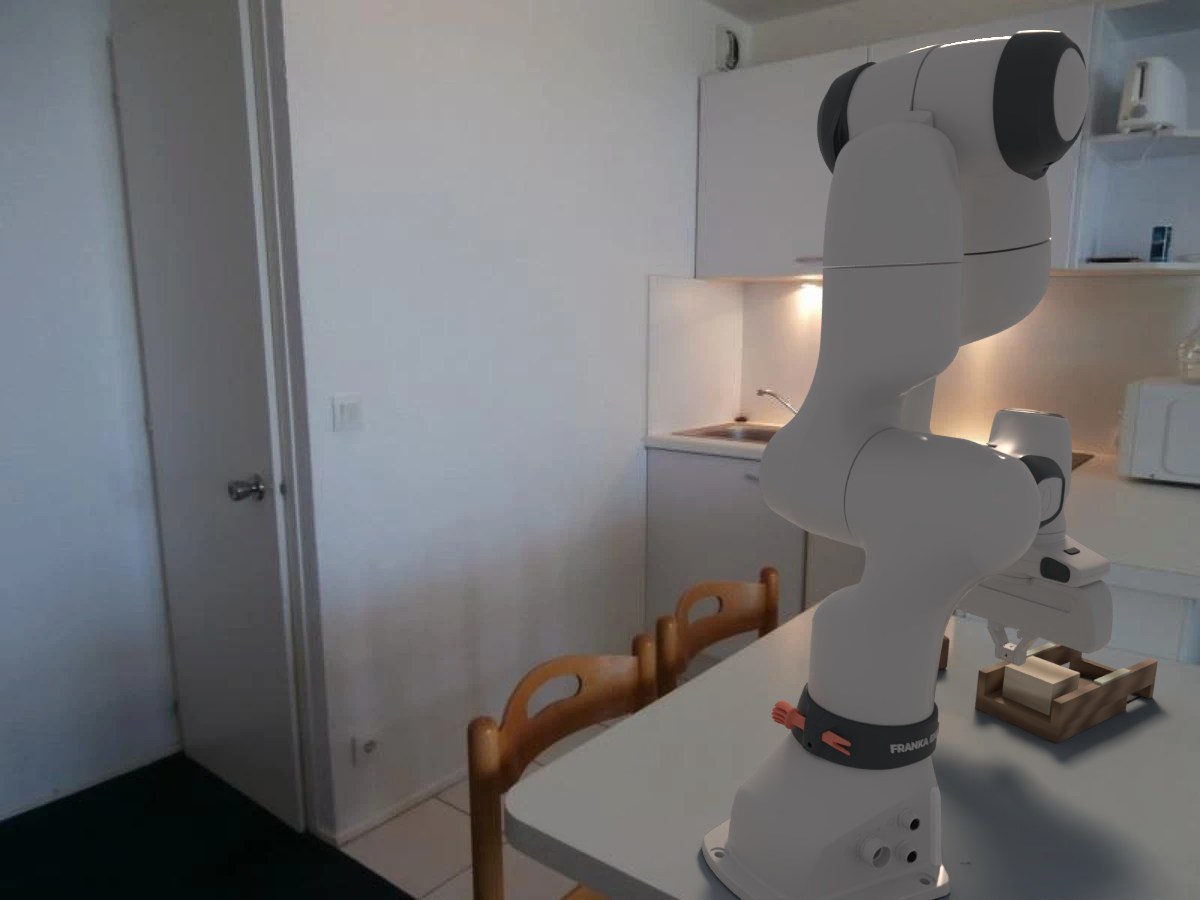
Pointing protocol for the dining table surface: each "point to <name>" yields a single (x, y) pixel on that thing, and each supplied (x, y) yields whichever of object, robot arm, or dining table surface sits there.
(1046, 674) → the birch block
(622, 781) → the dining table surface
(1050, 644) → the walled channel
